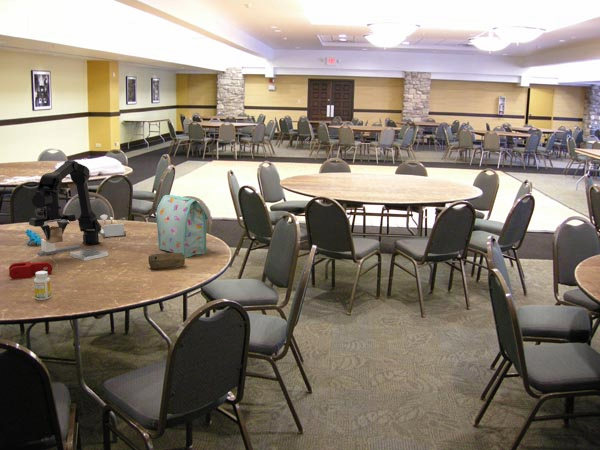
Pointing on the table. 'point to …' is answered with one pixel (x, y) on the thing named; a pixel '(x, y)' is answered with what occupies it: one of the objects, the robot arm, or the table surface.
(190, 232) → the lunch bag
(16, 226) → the table surface
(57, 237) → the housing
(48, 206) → the robot arm
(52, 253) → the rail
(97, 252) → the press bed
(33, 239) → the blue lobed piece
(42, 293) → the supplement bottle
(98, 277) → the table surface
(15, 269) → the mechanical linkage
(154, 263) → the stone weight
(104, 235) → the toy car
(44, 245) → the white rectangular block
